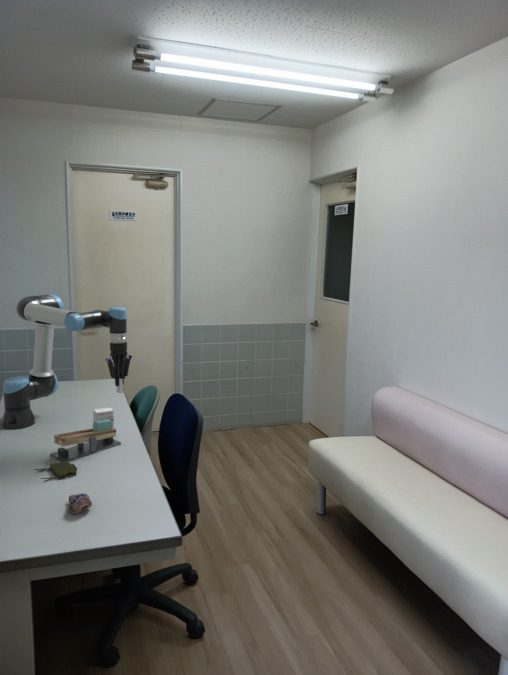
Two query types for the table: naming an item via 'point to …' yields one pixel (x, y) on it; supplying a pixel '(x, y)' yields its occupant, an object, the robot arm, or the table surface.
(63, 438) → the beam
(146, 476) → the table surface
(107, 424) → the teal rectangular block
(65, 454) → the stand
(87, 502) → the purple brown lumpy chunk
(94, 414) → the ink box
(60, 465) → the electronic device
